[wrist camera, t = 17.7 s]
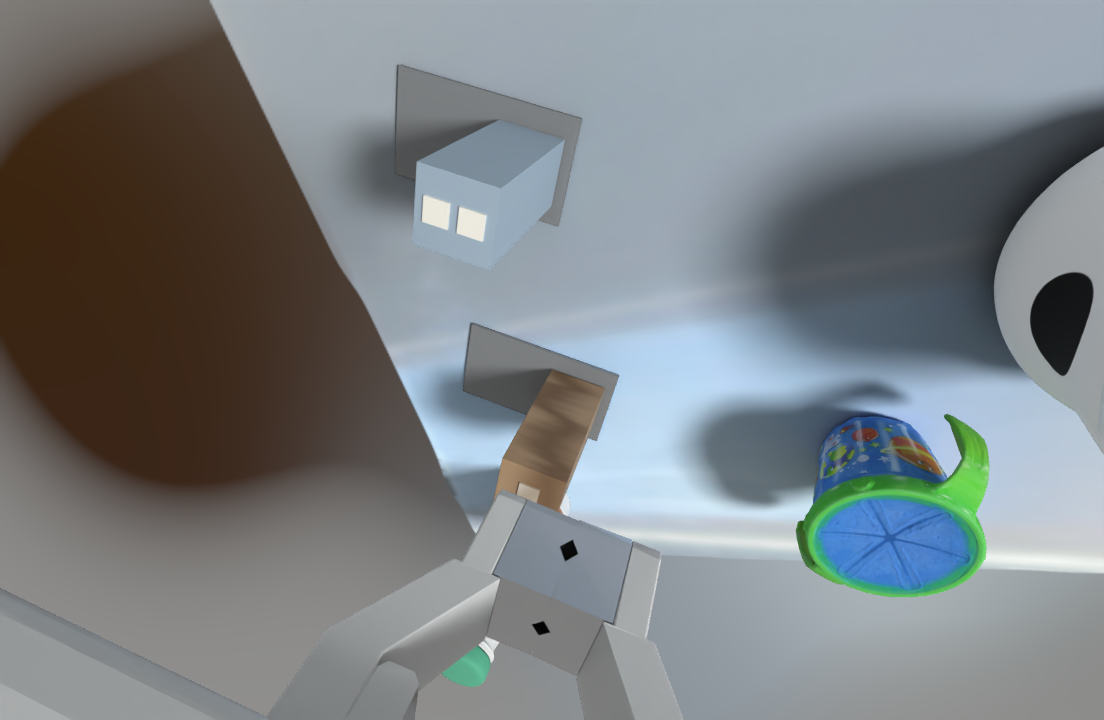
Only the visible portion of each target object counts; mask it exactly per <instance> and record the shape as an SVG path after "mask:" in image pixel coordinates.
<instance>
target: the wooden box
mask: <svg viewBox="0 0 1104 720" xmlns="http://www.w3.org/2000/svg"><path fill="white" fill-rule="evenodd" d="M604 390H605V388H602V387H599V386H597V385H594V384H591V383H588V382H586V381H583V380H580V379H577V378H575V377H572V376H569V375H566V374H564V373H561V372H558V371H555V370H552V371H551V373H550V374H549V376H548V378H547V380H546V382H545V383H544V385H543V387H542V389H541V390H540V392H539V394H538V396H537V398H536V399H535V401H534V403H533V405H532V406H531V408H530V410H529V412H528V414H527V415H526V417H525V419H524V421H523V422H522V424H521V426H520V428H519V430H518V431H517V433H516V435H515V437H514V439H513V440H512V442H511V444H510V446H509V447H508V449H507V451H506V453H505V455H504V456H503V458H502V463H501V467H500V472H499V477H498V482H497V486H496V491H495V496H494V499H495V498H496V496H497V494H498V493H499V492H500V491H501V490H502V489H504V490H506V491H509V492H511V493H514V494H516V495H519V496H521V497H523V498H526V499H528V500H531V501H533V502H536V503H538V504H540V505H543V506H545V507H547V508H550V509H552V510H554V511H557V512H558V511H559V509H560V506H561V504H562V501H563V499H564V496H565V494H566V491H567V489H568V486H569V484H570V481H571V479H572V476H573V474H574V471H575V469H576V466H577V464H578V461H579V459H580V456H581V454H582V451H583V449H584V446H585V444H586V441H587V439H588V436H589V434H590V431H591V429H592V426H593V423H594V420H595V417H596V414H597V411H598V408H599V405H600V402H601V399H602V396H603V393H604Z"/></svg>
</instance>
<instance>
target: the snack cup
mask: <svg viewBox="0 0 1104 720" xmlns="http://www.w3.org/2000/svg"><path fill="white" fill-rule="evenodd" d="M944 418H945V419H946V420H947V421H948V422H949V423H950V425H951V429H952V432H953V434H954V437H955V440H956V443H957V446H958V448H959V451H960V454H961V457H962V459H961V461H960V463H959V464H958V466H957V468H956V469H955V471H954V472H953V474H952V475H951V476H950V477H949V478H947V475H946V474H945V472H944V471H943V469H942V468H941V466H940V465H939V463H938V461H937V460H936V458H935V457H934V455H933V454H932V452H931V450H930V448H929V446H928V445H927V444H926V442H925V441H924V440H923V438H922V437H921V436H920V435H919V433H918V432H917V431H916V430H914V428H913V427H912V426H911V425H910V424H907V423H905V422H903V421H900V422H899V421H897V420H893V419H889V418H884V417H875V416H870V417H854V418H851V419H849V420H848V421H847V422H846V423H844V424H841V425H838V426H837V427H835V428H834V429H833V430H832V431H831V432H830V433H829V435H828V436H827V438H826V439H825V441H824V442H823V444H822V446H821V450H820V456H819V460H818V468H817V474H816V481H815V488H814V497H813V505H812V507H811V509H810V511H809V512H808V513H807V515H806V517H805V519H804V521H799V522H798V524H797V528H796V535H797V541H798V545H799V550H800V553H801V556H802V559H803V560H804V563H805V564H806V566H807V567H808V568H810V569H811V570H812V571H814V572H815V573H817V574H819V575H820V576H822V577H824V578H826V579H828V580H830V581H832V582H834V583H837V584H845V585H847V586H849V587H852V588H854V589H857V590H860V591H863V592H866V593H871V594H875V595H881V596H889V597H917V596H926V595H931V594H937V593H940V592H943V591H946V590H948V589H952V588H954V587H956V586H958V585H960V584H962V583H963V582H965V581H966V580H968V579H969V578H970V577H971V576H972V575H974V574H975V573H976V571H977V570H978V569H979V567H980V566H981V564H982V563H983V561H984V560H985V558H986V540H985V536H984V533H983V530H982V527H981V525H980V523H979V521H978V518H977V517H976V512H977V510H978V508H979V506H980V504H981V502H982V500H983V497H984V494H985V491H986V488H987V484H988V477H989V457H988V450H987V446H986V443H985V440H984V439H983V438H982V437H981V436H980V435H979V434H978V433H977V432H976V431H975V430H973V429H972V428H971V427H969V426H968V425H966V424H965V423H963V422H962V421H960V420H958V419H957V418H955V417H953V416H951V415H948V414H945V415H944Z"/></svg>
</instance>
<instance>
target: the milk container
mask: <svg viewBox="0 0 1104 720" xmlns="http://www.w3.org/2000/svg"><path fill="white" fill-rule="evenodd" d="M994 301H995V309H996V314H997V319H998V323H999V326H1000V330H1001V333H1002V335H1003V338H1004V340H1005V342H1006V345H1007V347H1008V348H1009V350H1010V352H1011V353H1012V355H1013V357H1014V358H1015V360H1016V362H1017V363H1018V364H1019V366H1020V367H1021V368H1022V369H1023V371H1024V372H1025V373H1026V374H1027V375H1028V376H1029V377H1030V378H1031V379H1032V380H1033V381H1034V382H1035V383H1036V384H1037V385H1038V386H1039V387H1040V388H1041V389H1043V390H1044V391H1045V392H1046V393H1048V394H1049V395H1051V396H1052V397H1053V398H1055V399H1056V400H1058V401H1059V402H1061V403H1062V404H1064V405H1065V406H1067V407H1068V408H1070V409H1072V410H1073V411H1075V412H1076V413H1077V414H1078V415H1079V417H1080V419H1081V420H1082V422H1083V423H1084V425H1085V426H1086V428H1087V430H1088V431H1089V433H1090V435H1091V436H1092V438H1093V439H1094V441H1095V442H1096V444H1097V445H1098V447H1099V448H1100V450H1101V451H1102V453H1103V454H1104V147H1102V148H1101V149H1099V150H1097V151H1096V152H1094V153H1092V154H1091V155H1089V156H1088V157H1086V158H1085V159H1083V160H1082V161H1080V162H1079V163H1077V164H1076V165H1074V166H1073V167H1072V168H1070V169H1069V170H1068V171H1066V172H1065V173H1064V174H1062V175H1061V176H1060V177H1059V178H1058V179H1056V180H1055V181H1054V182H1053V183H1052V184H1051V185H1050V186H1049V187H1048V188H1047V189H1046V190H1045V191H1044V192H1043V193H1042V194H1041V195H1040V196H1039V197H1038V198H1037V199H1036V200H1035V201H1034V202H1033V203H1032V205H1031V206H1030V207H1029V208H1028V209H1027V210H1026V212H1025V213H1024V214H1023V216H1022V217H1021V218H1020V220H1019V221H1018V222H1017V224H1016V226H1015V227H1014V229H1013V230H1012V232H1011V234H1010V235H1009V237H1008V239H1007V241H1006V243H1005V245H1004V248H1003V250H1002V252H1001V255H1000V258H999V261H998V264H997V268H996V273H995V280H994Z"/></svg>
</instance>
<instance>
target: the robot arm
mask: <svg viewBox="0 0 1104 720" xmlns="http://www.w3.org/2000/svg"><path fill="white" fill-rule="evenodd" d="M660 562H661V554H660V552H659V551H657V550H654V549H652V548H649V547H647V546H644V545H642V544H639V543H636V542H634V541H633V542H632V540H631V539H628V538H625V537H623V536H620V535H617V534H615V533H612V532H610V531H607V530H604V529H602V528H599V527H596V526H594V525H591V524H589V523H586V522H583V521H581V520H579V521H578V520H575V519H573V518H571V517H568V516H566V515H564V514H561V513H559V512H557V511H554V510H552V509H550V508H547V507H545V506H543V505H540V504H538V503H536V502H533V501H531V500H528V499H526V498H523V497H521V496H519V495H516V494H514V493H511V492H509V491H506V490H504V489H502V490H501V491H500V492H499V493H498V494H497V496H496V498H495V499H494V501H493V503H492V505H491V507H490V509H489V511H488V512H487V514H486V516H485V518H484V520H483V522H482V524H481V526H480V527H479V529H478V531H477V533H476V535H475V537H474V539H473V541H472V543H471V544H470V546H469V548H468V550H467V552H466V554H465V556H464V557H463V559H462V561H459V560H456V559H452V560H450V561H449V562H447V563H445V564H443V565H441V566H439V567H437V568H436V569H434V570H432V571H430V572H428V573H427V574H425V575H423V576H421V577H420V578H418V579H416V580H414V581H412V582H410V583H409V584H407V585H405V586H403V587H402V588H400V589H398V590H396V591H395V592H393V593H391V594H389V595H387V596H385V597H384V598H382V599H380V600H378V601H376V602H375V603H373V604H371V605H369V606H367V607H366V608H364V609H362V610H360V611H358V612H357V613H355V614H353V615H351V616H349V617H348V618H346V619H344V620H342V621H340V622H339V623H337V624H335V625H333V626H332V627H330V628H328V629H327V630H326V631H325V633H324V634H323V636H322V637H321V639H320V640H319V641H318V643H317V644H316V646H315V647H314V649H313V650H312V652H311V653H310V655H309V656H308V658H307V659H306V660H305V662H304V663H303V665H302V666H301V668H300V669H299V670H298V672H297V673H296V675H295V676H294V678H293V679H292V680H291V682H290V683H289V685H288V686H287V688H286V689H285V691H284V692H283V693H282V695H281V697H280V698H279V699H278V701H277V702H276V703H275V705H274V706H273V708H272V709H271V711H270V712H269V714H268V715H267V716H264V715H262V714H260V713H258V712H256V711H254V710H252V709H250V708H247V707H245V706H243V705H241V704H239V703H237V702H235V701H233V700H231V699H229V698H227V697H225V696H223V695H220V694H219V693H216V692H214V691H212V690H210V689H208V688H206V687H204V686H202V685H200V684H198V683H196V682H194V681H192V680H190V679H188V678H185V677H183V676H181V675H179V674H177V673H175V672H173V671H171V670H169V669H167V668H165V667H163V666H161V665H159V664H157V663H154V662H152V661H150V660H148V659H146V658H144V657H142V656H140V655H138V654H136V653H134V652H132V651H130V650H128V649H126V648H124V647H122V646H119V645H117V644H115V643H113V642H111V641H109V640H107V639H105V638H103V637H101V636H99V635H97V634H95V633H92V632H91V631H88V630H86V629H84V628H82V627H80V626H78V625H76V624H74V623H72V622H70V621H68V620H66V619H64V618H62V617H60V616H57V615H55V614H53V613H51V612H49V611H47V610H45V609H43V608H41V607H39V606H37V605H35V604H32V603H31V602H28V601H26V600H24V599H22V598H20V597H18V596H16V595H14V594H12V593H10V592H8V591H6V590H4V589H2V588H0V720H414V719H415V712H416V705H417V697H418V691H419V690H421V689H422V688H423V687H425V686H426V685H427V684H428V683H430V682H431V681H432V680H434V679H435V678H436V677H437V676H439V675H440V674H441V673H443V672H444V671H445V670H446V669H448V668H449V667H450V666H452V665H453V664H454V663H456V662H457V661H458V660H459V659H461V658H462V657H463V656H465V655H466V654H467V653H468V652H470V651H471V650H472V649H474V648H475V647H476V646H477V645H479V644H480V643H481V642H483V641H484V640H485V637H488V638H490V639H493V640H495V641H498V642H500V643H503V644H505V645H508V646H510V647H513V648H515V649H518V650H520V651H523V652H525V653H528V654H530V655H532V656H534V657H537V658H539V659H541V660H543V661H545V662H547V663H550V664H552V665H554V666H556V667H558V668H560V669H562V670H564V671H567V672H569V673H571V674H573V675H575V676H577V678H576V680H577V685H578V690H579V695H580V700H581V704H582V710H583V715H584V720H683V717H682V714H681V712H680V709H679V706H678V704H677V701H676V698H675V696H674V693H673V690H672V687H671V685H670V682H669V679H668V677H667V674H666V671H665V669H664V666H663V663H662V661H661V658H660V655H659V653H658V650H657V647H656V645H655V643H654V642H651V641H649V640H647V639H646V638H647V633H648V627H649V622H650V616H651V611H652V606H653V600H654V595H655V589H656V584H657V579H658V573H659V568H660Z"/></svg>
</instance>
